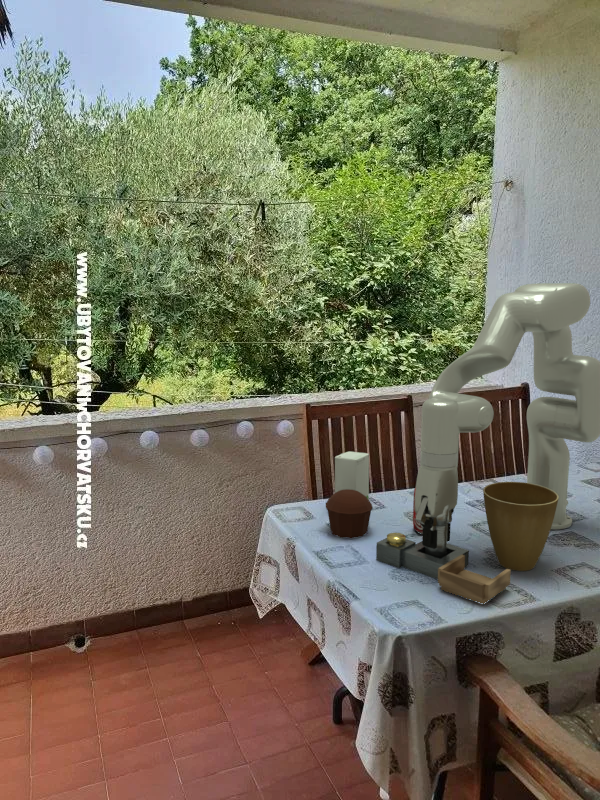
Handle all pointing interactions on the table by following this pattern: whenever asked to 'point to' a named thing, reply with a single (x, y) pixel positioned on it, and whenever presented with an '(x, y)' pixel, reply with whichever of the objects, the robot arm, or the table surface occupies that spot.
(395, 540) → the knob
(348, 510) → the muffin
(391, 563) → the socket
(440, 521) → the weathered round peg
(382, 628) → the table surface
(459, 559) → the tray
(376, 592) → the table surface
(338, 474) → the skincare box
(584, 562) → the table surface
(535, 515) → the plant pot
